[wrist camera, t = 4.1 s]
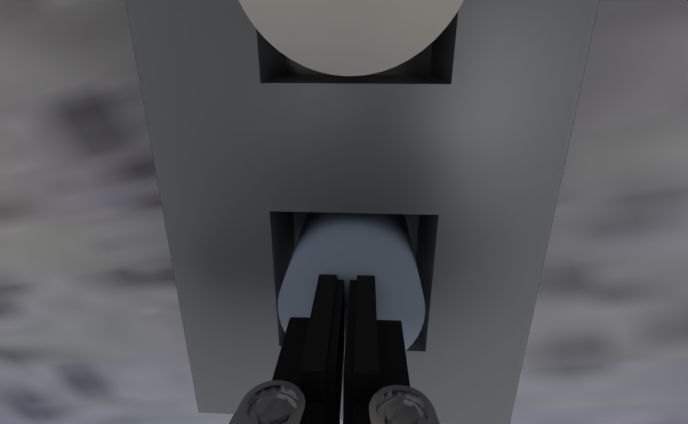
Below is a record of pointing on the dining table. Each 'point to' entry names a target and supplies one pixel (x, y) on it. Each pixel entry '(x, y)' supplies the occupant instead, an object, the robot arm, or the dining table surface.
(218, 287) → the grey rectangular block
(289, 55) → the white rounded oval piece
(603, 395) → the dining table surface
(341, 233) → the light blue rounded cylinder
